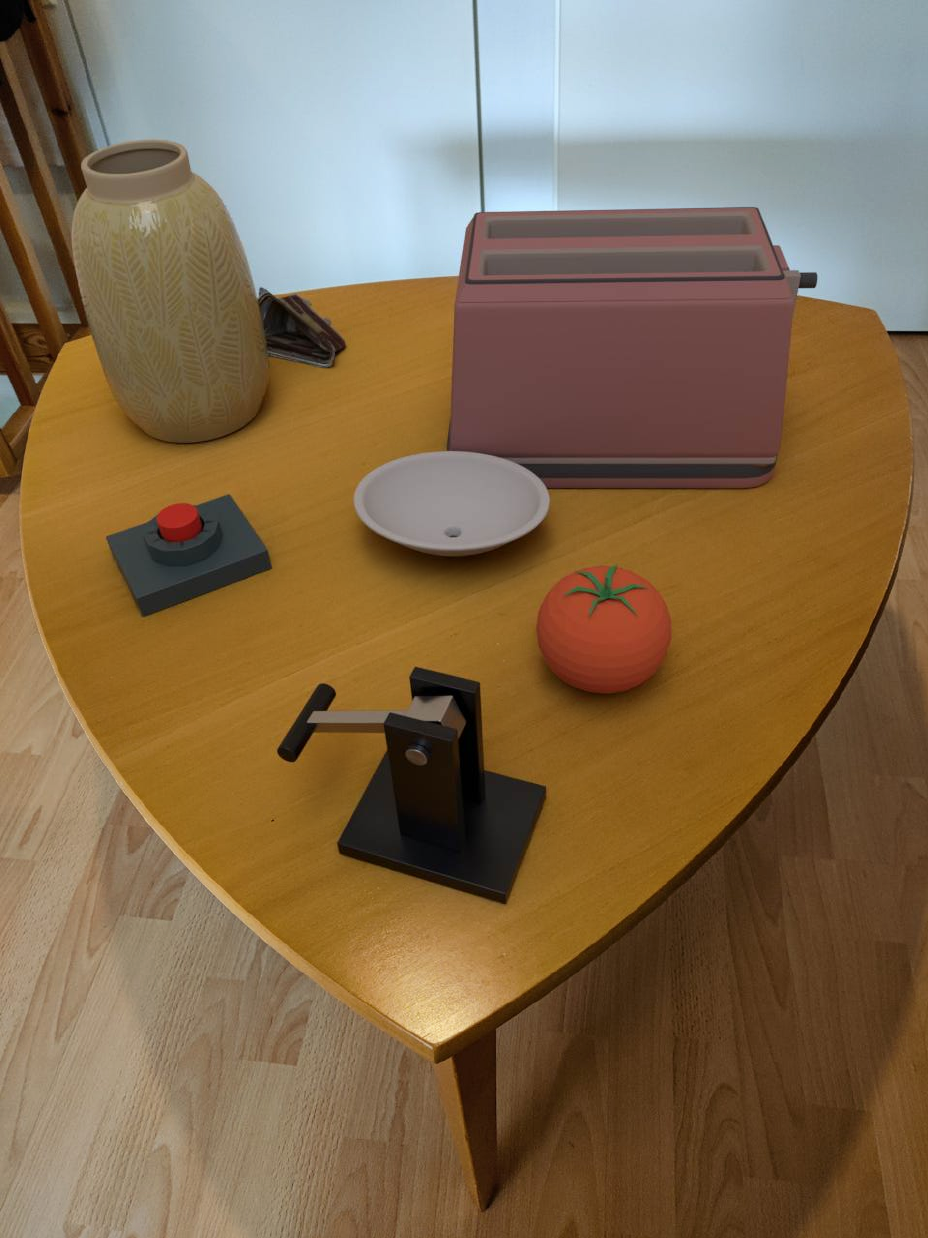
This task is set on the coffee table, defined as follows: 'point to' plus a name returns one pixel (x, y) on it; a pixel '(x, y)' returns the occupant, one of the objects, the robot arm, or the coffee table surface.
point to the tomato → (603, 629)
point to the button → (179, 522)
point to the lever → (361, 719)
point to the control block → (188, 557)
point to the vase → (168, 294)
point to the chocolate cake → (297, 330)
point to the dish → (451, 502)
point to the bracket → (444, 801)
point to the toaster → (624, 346)
